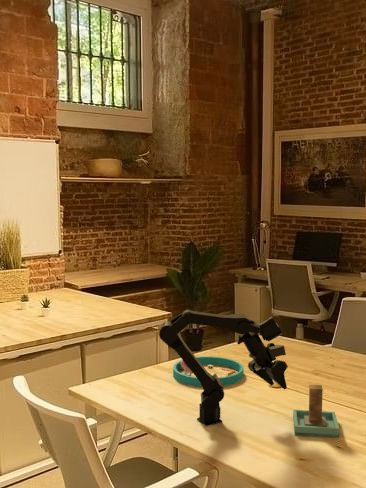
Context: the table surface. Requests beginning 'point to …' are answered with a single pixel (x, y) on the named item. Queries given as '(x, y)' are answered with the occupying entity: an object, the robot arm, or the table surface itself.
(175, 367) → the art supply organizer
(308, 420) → the handle post
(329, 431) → the tray
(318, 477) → the table surface
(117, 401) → the table surface
